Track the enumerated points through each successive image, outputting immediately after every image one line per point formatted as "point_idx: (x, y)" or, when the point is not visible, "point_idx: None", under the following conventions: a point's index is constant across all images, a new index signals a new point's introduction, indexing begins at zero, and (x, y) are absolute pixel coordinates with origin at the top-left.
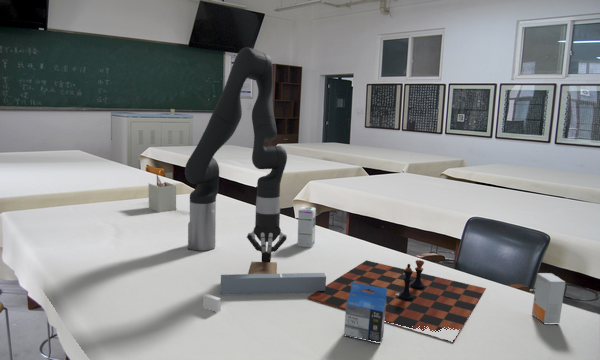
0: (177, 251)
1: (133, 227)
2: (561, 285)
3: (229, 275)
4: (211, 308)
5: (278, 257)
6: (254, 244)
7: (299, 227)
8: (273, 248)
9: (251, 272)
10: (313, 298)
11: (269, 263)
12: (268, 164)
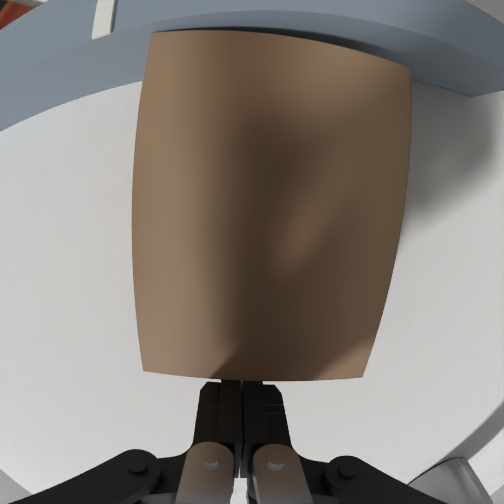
0: (488, 435)
1: (486, 480)
2: None
3: (501, 56)
4: None
5: None
6: (401, 501)
7: None
8: (149, 482)
9: (386, 107)
10: (24, 8)
11: (206, 350)
12: None
